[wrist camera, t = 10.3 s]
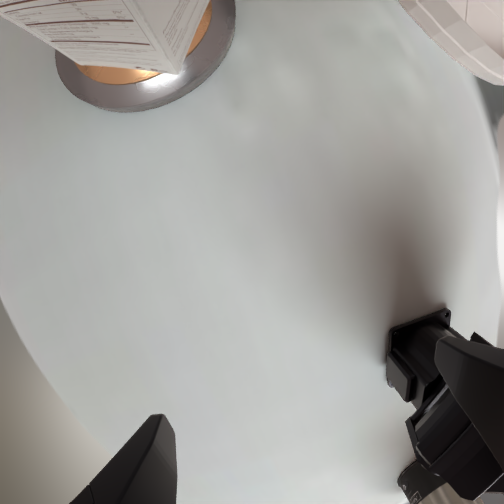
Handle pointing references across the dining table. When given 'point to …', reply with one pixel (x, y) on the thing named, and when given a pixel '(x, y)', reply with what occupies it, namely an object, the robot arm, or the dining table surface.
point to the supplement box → (112, 30)
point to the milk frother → (429, 488)
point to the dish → (465, 32)
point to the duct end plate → (154, 83)
